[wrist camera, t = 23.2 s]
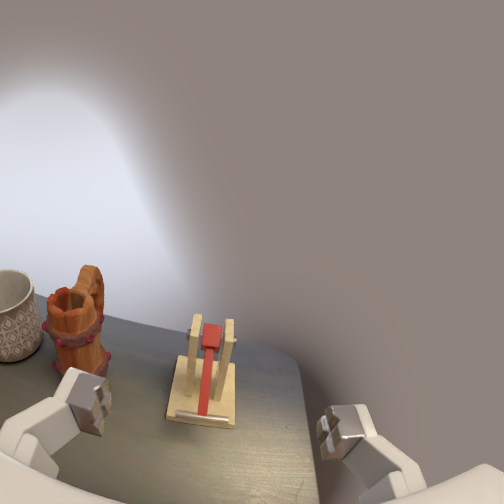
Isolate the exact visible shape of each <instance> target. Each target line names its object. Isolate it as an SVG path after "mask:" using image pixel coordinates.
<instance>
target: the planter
mask: <svg viewBox="0 0 504 504" xmlns="http://www.w3.org/2000/svg"><path fill="white" fill-rule="evenodd" d="M42 338H43V329H42V324H41V320H40V315H39V311H38V307H37V302H36V297H35V292H34V286H33V281H32V279H31V278H30V277H29V275H27V274H26V273H24V272H22V271H18V270H13V269H3V270H0V361H2V362H15V361H19V360H22V359H24V358H26V357H28V356H29V355H31V354H32V353H33V352H34V351H35V350H36V349H37V348H38V347H39V345H40V343H41V341H42Z"/></svg>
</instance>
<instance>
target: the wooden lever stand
mask: <svg viewBox="0 0 504 504" xmlns="http://www.w3.org/2000/svg"><path fill="white" fill-rule="evenodd" d="M201 321H202V315H200V314H194V319H193V323H192V328H191V329H188V330H187V337H186V340H189V350H188V357H186V356H180V355H179V356H178V361H177V365H176V370H175V375H174V379H173V384H172V389H171V394H170V399H169V404H168V409H167V414H166V419H167V420H172V421H177V422H183V423H189V424H196V425H203V426H211V427H220V428H229V429H234V425H235V364H233V363H229V361H230V356H231V352H232V347H235V345H236V336H234V320H233V319H226V322H225V328H224V332H223V338H222V343H221V348H220V353H219V359H218V361H213V367H212V376H211V385H210V394H209V403H208V413H207V414H211V415H219V416H228V417H229V423H228V425H220V424H212V423H204V422H197V421H190V420H184V419H178V418H175V412H176V409H177V410H183V411H190V412H196V413H198V404H199V395H200V387H201V379H202V371H203V363H204V359H198V358H197V353H198V345H199V337H200V328H201Z"/></svg>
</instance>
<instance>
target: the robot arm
mask: <svg viewBox="0 0 504 504" xmlns="http://www.w3.org/2000/svg"><path fill="white" fill-rule="evenodd" d="M108 386H109V382H108V379H107V378H103V377H100V376H97V375H94V374H91V373H87V372H84V371H82V370H78V369H75V368H72V367H70V368H69V369H68V370H67V371H66V373H65V375H64V377H63V379H62V381H61V383H60V384H59V386H58V388H57V390H56V392H55V394H54V396H53V398H52V397H48V398H46V399H44V400H42V401H41V402H39V403H37V404H35V405H33V406H31V407H29V408H28V409H26V410H24V411H22V412H20V413H18V414H16V415H14V416H13V417H11V418H9V419H7V420H5V422H4V424H3V426H2V428H1V430H0V504H126V503H122V502H119V501H115V500H112V499H108V498H105V497H102V496H99V495H96V494H93V493H90V492H87V491H84V490H81V489H79V488H76V487H73V486H71V485H68V484H66V483H63V482H61V481H59V480H56V478H57V474H58V471H59V467H58V465H57V464H56V463H55V462H54V460H53V459H52V458H51V455H52V454H54V453H55V452H56V451H57V450H59V449H60V448H61V447H63V446H64V445H65V444H66V443H68V442H69V441H70V440H71V439H73V438H74V437H75V436H76V435H78V434H79V433H80V432H81V431H83V432H86V433H89V434H92V435H96V436H99V437H101V436H102V433H103V430H104V427H105V424H106V423H105V420H104V417H105V416H107V415H108V414H109V412H110V409H111V403H112V395H111V392H110V391H109V390H108ZM325 414H326V415H324V416H322V417H321V418H320V419H319V421H318V424H317V428H316V429H317V437H318V439H319V440H320V441H321V442H322V445H321V447H320V451H321V455H322V459H323V461H331V460H342V461H343V462H344V463H345V465H346V466H347V467H348V468H349V469H350V470H351V471H352V472H353V473H354V474H355V475H356V476H357V478H358V479H359V480H360V481H361V482H362V483H363V484H364V485H365V486H366V487H367V488H368V490H367V491H365V492H364V493H363V494H361V495H360V497H359V502H360V504H504V473H503V472H501V471H499V470H498V469H496V468H494V467H492V466H491V465H488V464H481V465H478V466H476V467H474V468H472V469H470V470H468V471H466V472H464V473H462V474H460V475H458V476H456V477H453V478H451V479H449V480H447V481H444V482H442V483H440V484H437V485H434V486H432V487H429V488H427V485H426V483H425V480H424V478H423V475H422V473H421V470H420V468H419V465H418V464H417V463H416V462H414V461H413V460H412V459H410V458H409V457H408V456H407V455H405V454H404V453H403V452H401V451H400V450H399V449H397V448H396V447H395V446H393V445H392V444H391V443H390V442H389V441H387V440H386V439H385V438H384V437H382V436H381V435H377V432H376V430H375V427H374V425H373V422H372V420H371V417H370V415H369V412H368V410H367V407H366V406H365V405H364V404H360V405H336V406H328V407H327V408H326V410H325Z"/></svg>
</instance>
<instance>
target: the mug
mask: <svg viewBox="0 0 504 504" xmlns="http://www.w3.org/2000/svg"><path fill="white" fill-rule="evenodd" d="M103 308H104V283H103V278H102V275H101V273H100V270H99V269H98V267H95V266H90V265H84V266H83V267H82V268H81V270H80V273H79V276H78V280H77V283H76V285H75V286H74V287H73V288H72V289H68V288H67V287H63V288H60V289H58V290H56V292H55V294H51V295H50V296H49V297H48V301H47V311H48V316H47V318H46V321H45V322H43V324H42V329H43V330H45V331H46V332H48V334H49V336H50V338H51V339H52V340H53V341H54V344H55V347H56V350H57V358H56V361H55V362H53V364H52V367H53V368H54V369H55V370H56V371H59V373H60V375H61V376H62V378H63V377H64V375H65V373H66V371H67V370H68V369H69V368H70V367H72V368H75V369H78V370H82V371H84V372H87V373H91V374H94V375H97V376H100V377H103V378H104V375H105V374H106V371H107V368H108V361H109V360H110V359H111V354H110V353H109V352H106V351H105V349H104V348H103V346H102V345H101V344H100V339H99V332H100V331H101V328H102V322H103V321H104V316H103Z"/></svg>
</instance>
